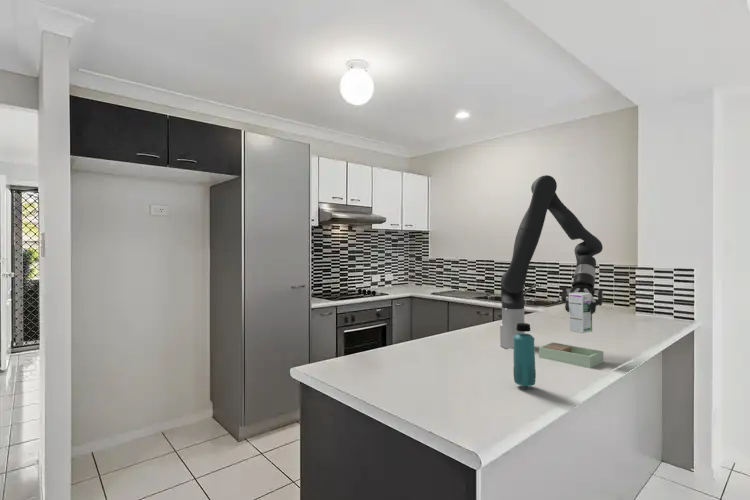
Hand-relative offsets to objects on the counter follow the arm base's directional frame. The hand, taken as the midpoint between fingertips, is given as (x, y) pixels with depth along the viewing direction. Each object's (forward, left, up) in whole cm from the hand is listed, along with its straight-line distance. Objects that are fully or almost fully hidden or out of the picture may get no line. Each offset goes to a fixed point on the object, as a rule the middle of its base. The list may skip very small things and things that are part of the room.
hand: (579, 311), depth 153 cm
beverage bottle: (0, -39, -19) cm, 43 cm away
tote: (-4, 0, -19) cm, 20 cm away
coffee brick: (-9, 0, -19) cm, 21 cm away
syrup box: (0, +1, -8) cm, 8 cm away
